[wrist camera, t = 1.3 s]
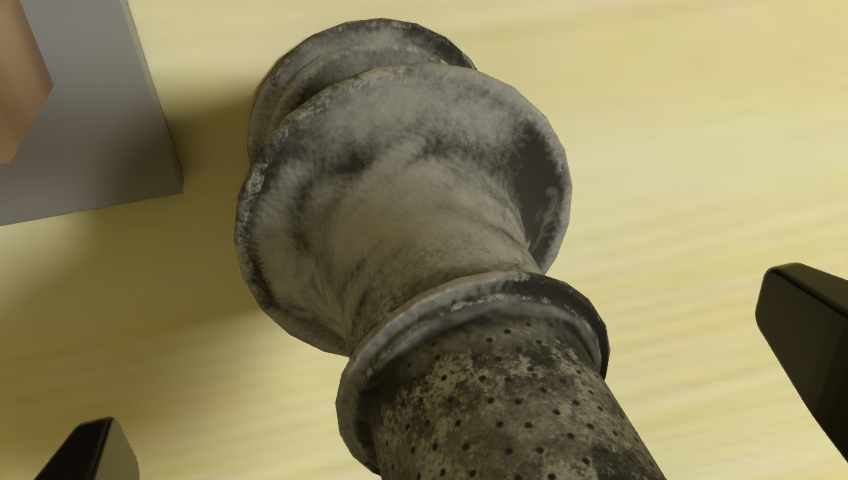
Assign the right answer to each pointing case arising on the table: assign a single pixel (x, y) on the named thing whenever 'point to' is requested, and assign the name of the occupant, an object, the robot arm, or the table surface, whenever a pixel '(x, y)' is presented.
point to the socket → (77, 111)
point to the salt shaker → (429, 261)
